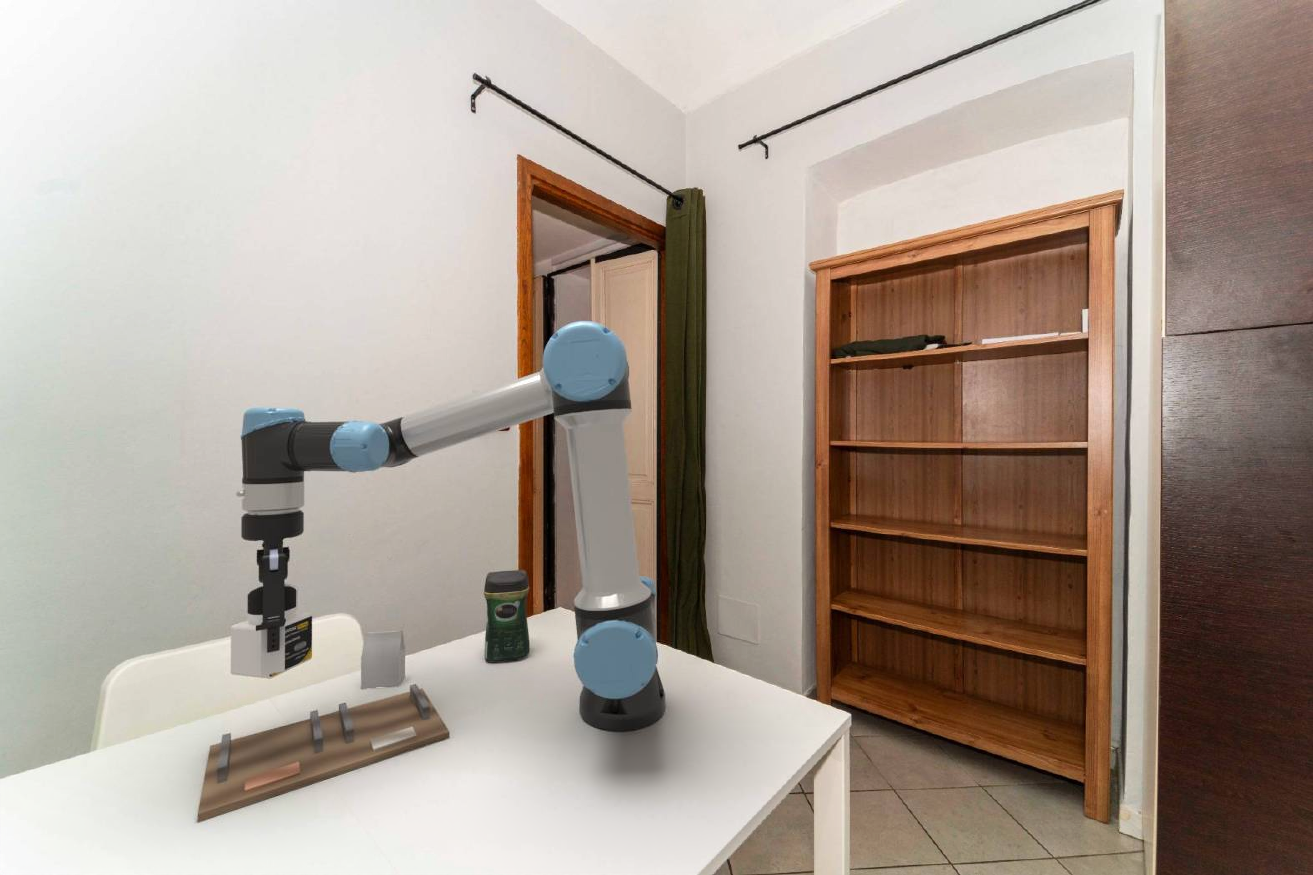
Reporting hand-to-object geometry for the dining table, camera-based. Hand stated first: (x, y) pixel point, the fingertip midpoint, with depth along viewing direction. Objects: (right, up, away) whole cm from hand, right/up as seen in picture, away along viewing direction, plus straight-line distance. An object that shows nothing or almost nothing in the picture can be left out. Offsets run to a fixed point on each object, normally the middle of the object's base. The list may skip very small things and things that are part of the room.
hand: (272, 659), depth 77 cm
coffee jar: (+25, -15, +36) cm, 46 cm away
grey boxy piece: (+4, -15, +23) cm, 28 cm away
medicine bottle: (0, -1, 0) cm, 1 cm away
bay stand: (+7, -14, +3) cm, 16 cm away
